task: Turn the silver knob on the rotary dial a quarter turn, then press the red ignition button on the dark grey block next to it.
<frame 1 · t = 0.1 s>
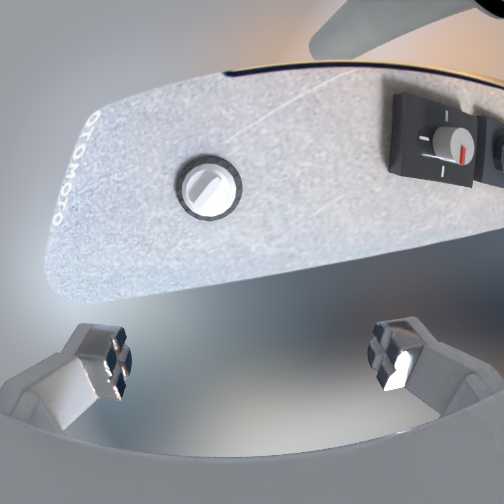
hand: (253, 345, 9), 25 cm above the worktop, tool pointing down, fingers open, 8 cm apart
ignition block: (495, 154, 32), on the worktop
stove knob: (209, 188, 32), on the worktop
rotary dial: (431, 141, 31), on the worktop
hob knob: (454, 145, 26), point 5 cm above the worktop, hinge at 0.0°
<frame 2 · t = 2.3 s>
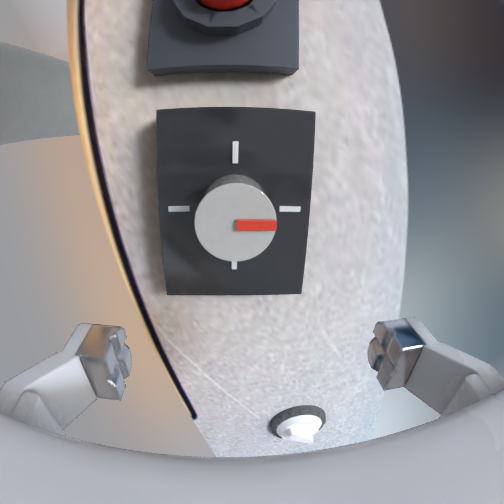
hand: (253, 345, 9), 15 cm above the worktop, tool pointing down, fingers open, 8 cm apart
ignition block: (225, 9, 16), on the worktop
stove knob: (297, 420, 33), on the worktop
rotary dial: (233, 198, 22), on the worktop
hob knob: (235, 215, 17), point 5 cm above the worktop, hinge at 0.0°
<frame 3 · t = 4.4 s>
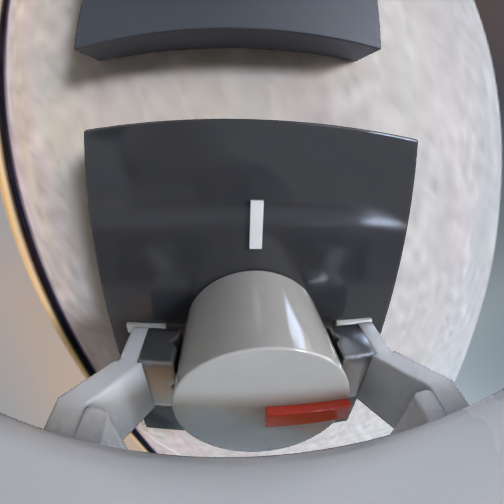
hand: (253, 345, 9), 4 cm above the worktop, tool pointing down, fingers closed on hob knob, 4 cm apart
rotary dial: (247, 285, 12), on the worktop
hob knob: (257, 368, 8), point 5 cm above the worktop, hinge at -0.2°, touching gripper
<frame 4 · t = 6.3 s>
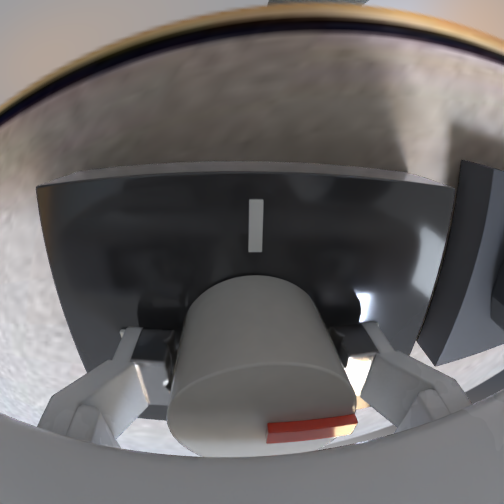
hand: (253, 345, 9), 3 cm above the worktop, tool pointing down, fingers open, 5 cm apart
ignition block: (501, 258, 12), on the worktop
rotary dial: (247, 288, 12), on the worktop
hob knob: (258, 380, 7), point 5 cm above the worktop, hinge at 87.4°
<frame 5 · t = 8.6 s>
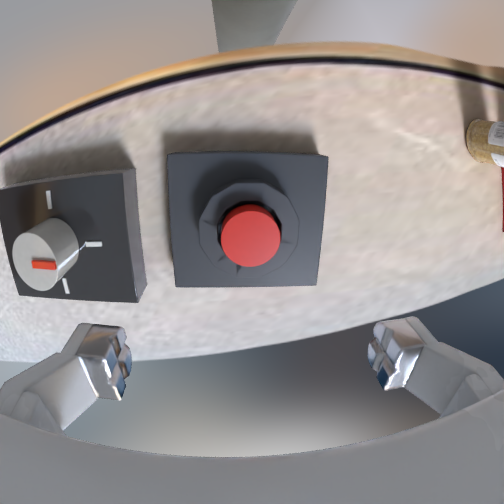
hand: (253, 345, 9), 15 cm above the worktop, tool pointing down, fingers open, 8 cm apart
ignition button: (249, 235, 19), point 4 cm above the worktop, slide at 0.1 cm
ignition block: (246, 216, 23), on the worktop
sprinkles bottle: (477, 139, 21), on the worktop
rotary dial: (73, 231, 22), on the worktop
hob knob: (44, 254, 17), point 5 cm above the worktop, hinge at 87.4°
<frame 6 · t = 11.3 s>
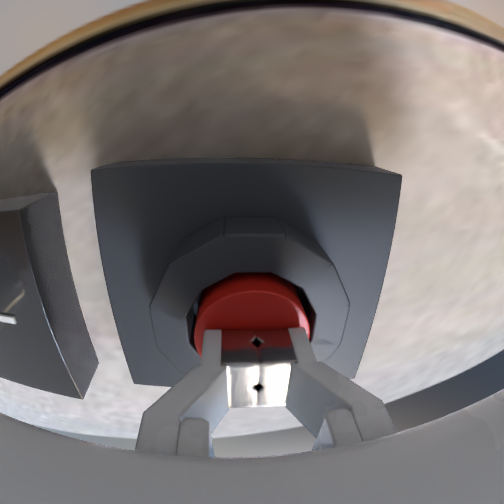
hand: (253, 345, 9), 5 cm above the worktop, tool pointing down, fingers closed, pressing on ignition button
ignition button: (250, 324, 10), point 4 cm above the worktop, slide at -0.7 cm, touching gripper
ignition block: (245, 274, 13), on the worktop
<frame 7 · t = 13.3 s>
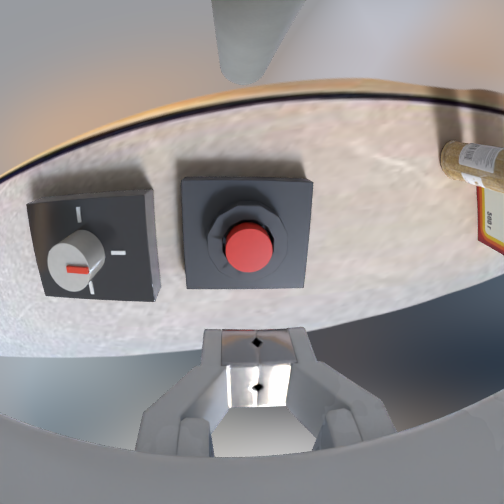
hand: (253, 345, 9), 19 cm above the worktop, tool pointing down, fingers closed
baking soda box: (490, 200, 28), on the worktop
ignition button: (248, 247, 23), point 4 cm above the worktop, slide at 0.1 cm
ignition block: (245, 230, 27), on the worktop
sprinkles bottle: (451, 158, 26), on the worktop
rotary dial: (97, 241, 27), on the worktop
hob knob: (75, 260, 22), point 5 cm above the worktop, hinge at 87.4°
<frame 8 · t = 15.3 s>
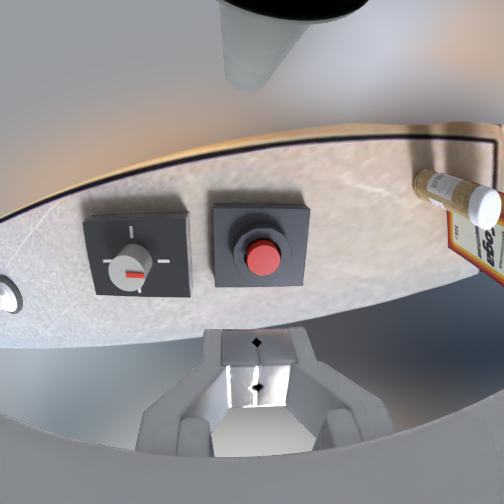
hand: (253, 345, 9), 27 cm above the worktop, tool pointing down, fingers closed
baking soda box: (460, 214, 37), on the worktop
ignition button: (263, 257, 33), point 4 cm above the worktop, slide at 0.1 cm
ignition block: (259, 243, 37), on the worktop
sprinkles bottle: (424, 183, 35), on the worktop
stove knob: (8, 294, 37), on the worktop
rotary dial: (141, 250, 36), on the worktop
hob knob: (130, 267, 31), point 5 cm above the worktop, hinge at 87.4°
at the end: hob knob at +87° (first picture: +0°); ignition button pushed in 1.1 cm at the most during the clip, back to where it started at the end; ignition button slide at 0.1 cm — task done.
